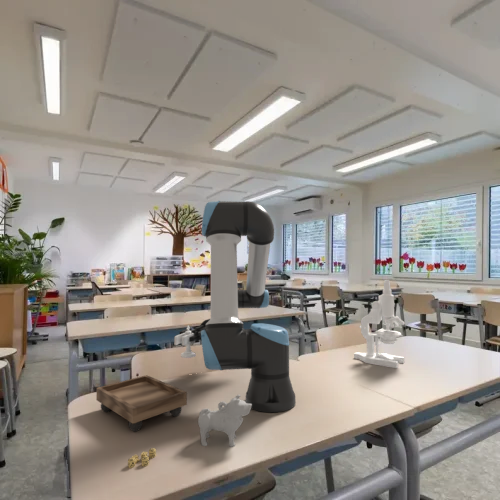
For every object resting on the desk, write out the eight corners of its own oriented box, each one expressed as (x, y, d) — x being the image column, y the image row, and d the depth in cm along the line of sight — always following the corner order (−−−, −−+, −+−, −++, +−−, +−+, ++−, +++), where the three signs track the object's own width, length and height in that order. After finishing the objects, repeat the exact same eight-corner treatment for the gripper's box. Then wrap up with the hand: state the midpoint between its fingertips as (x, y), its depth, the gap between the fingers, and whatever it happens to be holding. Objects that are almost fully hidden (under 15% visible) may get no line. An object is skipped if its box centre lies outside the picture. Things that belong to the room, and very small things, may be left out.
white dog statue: (251, 447, 80) (251, 400, 80) (196, 446, 81) (196, 400, 81) (252, 436, 85) (252, 392, 86) (200, 435, 86) (200, 391, 86)
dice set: (156, 457, 77) (156, 448, 77) (150, 470, 72) (150, 461, 72) (133, 457, 77) (133, 448, 77) (126, 471, 72) (126, 461, 72)
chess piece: (198, 354, 117) (198, 324, 117) (191, 358, 112) (191, 327, 113) (185, 353, 119) (185, 323, 119) (177, 357, 114) (177, 326, 114)
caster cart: (186, 415, 97) (186, 391, 97) (132, 436, 86) (132, 409, 86) (146, 395, 112) (146, 375, 113) (96, 410, 101) (96, 387, 101)
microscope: (376, 369, 138) (374, 281, 139) (351, 357, 157) (350, 279, 158) (415, 366, 142) (412, 280, 143) (386, 354, 161) (384, 278, 162)
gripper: (231, 339, 130) (200, 355, 108) (195, 336, 135) (159, 351, 113) (231, 319, 130) (200, 330, 108) (195, 317, 135) (159, 327, 113)
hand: (179, 341), depth 111 cm, fingers closed on chess piece, 2 cm apart
